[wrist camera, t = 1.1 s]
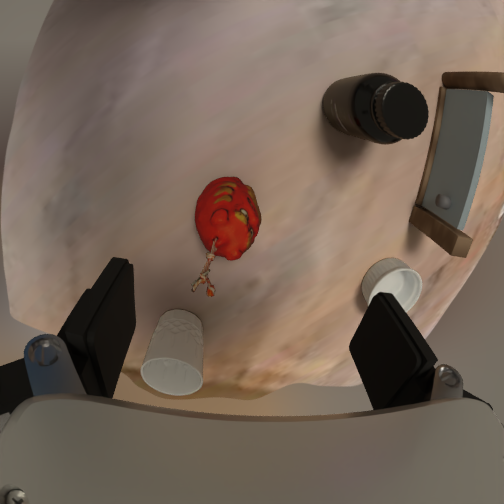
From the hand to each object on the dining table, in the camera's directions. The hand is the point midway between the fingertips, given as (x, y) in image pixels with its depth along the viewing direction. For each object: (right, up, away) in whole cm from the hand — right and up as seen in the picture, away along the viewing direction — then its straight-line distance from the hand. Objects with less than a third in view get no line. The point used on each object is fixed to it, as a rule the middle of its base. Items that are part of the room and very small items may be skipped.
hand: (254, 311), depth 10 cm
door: (+24, +16, +19) cm, 35 cm away
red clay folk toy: (-3, +8, +23) cm, 24 cm away
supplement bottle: (+11, +19, +18) cm, 28 cm away
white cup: (-11, -9, +31) cm, 34 cm away
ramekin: (+20, -2, +29) cm, 35 cm away
